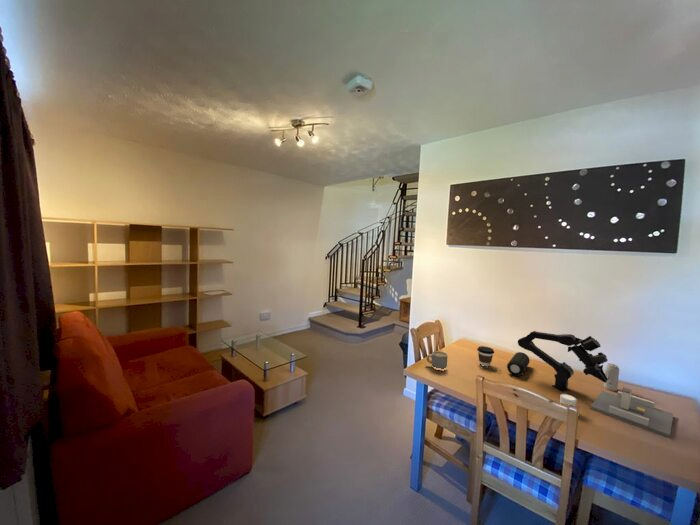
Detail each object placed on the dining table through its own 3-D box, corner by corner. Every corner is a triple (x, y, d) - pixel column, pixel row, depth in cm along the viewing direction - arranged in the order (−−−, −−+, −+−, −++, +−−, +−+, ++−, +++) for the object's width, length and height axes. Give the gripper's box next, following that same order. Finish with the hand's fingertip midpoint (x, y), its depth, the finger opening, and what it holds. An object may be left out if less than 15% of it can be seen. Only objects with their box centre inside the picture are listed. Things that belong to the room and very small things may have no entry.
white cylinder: (576, 415, 145) (577, 402, 144) (559, 410, 148) (560, 398, 148) (574, 409, 150) (575, 396, 150) (558, 404, 154) (559, 392, 153)
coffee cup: (483, 369, 195) (484, 352, 195) (472, 362, 206) (473, 346, 205) (496, 368, 198) (498, 351, 197) (485, 361, 209) (487, 345, 208)
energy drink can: (601, 386, 177) (603, 362, 176) (611, 386, 176) (613, 363, 175) (609, 391, 171) (612, 366, 170) (619, 391, 170) (622, 367, 169)
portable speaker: (513, 362, 208) (514, 349, 208) (529, 367, 202) (530, 353, 201) (505, 374, 189) (506, 359, 188) (522, 379, 183) (523, 364, 182)
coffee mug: (448, 367, 196) (449, 353, 195) (443, 372, 188) (444, 358, 187) (430, 362, 204) (430, 348, 203) (424, 366, 196) (425, 352, 196)
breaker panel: (590, 408, 151) (591, 400, 151) (601, 393, 168) (602, 385, 168) (669, 437, 129) (670, 428, 129) (673, 416, 146) (674, 408, 146)
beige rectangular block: (620, 407, 150) (621, 389, 149) (621, 403, 153) (623, 387, 153) (628, 410, 148) (630, 392, 147) (629, 406, 151) (631, 389, 150)
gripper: (592, 352, 153) (618, 380, 145) (600, 345, 165) (624, 370, 157) (573, 361, 160) (597, 388, 152) (582, 353, 172) (604, 378, 164)
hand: (606, 381), depth 156 cm, fingers open, 3 cm apart
